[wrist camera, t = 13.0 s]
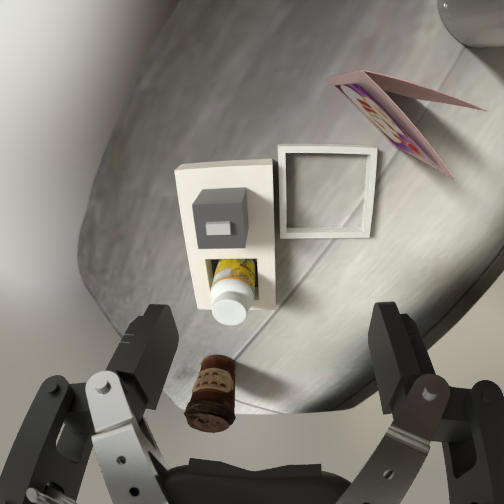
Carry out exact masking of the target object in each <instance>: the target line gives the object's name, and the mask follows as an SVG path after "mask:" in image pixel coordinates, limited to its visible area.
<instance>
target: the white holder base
mask: <svg viewBox="0 0 504 504" xmlns="http://www.w3.org/2000/svg"><path fill="white" fill-rule="evenodd" d="M175 178H176V185H177V192H178V199H179V206H180V212H181V218H182V225H183V231H184V237H185V243H186V249H187V254H188V260H189V265H190V271H191V276H192V281H193V287H194V292H195V297H196V302H197V307H198V309H212V308H213V305H212V303H211V300H210V291H211V287H212V283H213V279H214V278H213V271H212V264H211V259H251V258H257V266H258V286H259V287H255V289H254V301H253V304H252V306H251V308H250V309H249V310H276V291H275V234H274V196H273V165H272V159H256V160H233V161H216V162H202V163H189V164H181V165H180V166H179V167H178V168H177V169H175Z"/></svg>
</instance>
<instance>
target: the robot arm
mask: <svg viewBox="0 0 504 504" xmlns="http://www.w3.org/2000/svg"><path fill="white" fill-rule="evenodd" d="M438 9H439V14H440V16H441V19H442V21H443V23H444V24H445V26H446V28H447V29H448V30H449V32H450V33H451V34H452V35H453V36H454V37H455V38H456V39H457V40H458V41H460V42H461V43H463V44H465V45H466V46H469V47H474V48H481V47H502V46H504V0H438ZM419 333H420V332H419V330H418V328H417V325H416V323H415V322H414V321H413V320H412V319H411V318H410V317H409V316H408V315H407V314H400V313H399V311H398V308H397V306H396V303H395V302H378V303H375V305H374V308H373V313H372V318H371V323H370V327H369V332H368V344H369V349H370V354H371V358H372V362H373V367H374V371H375V376H376V380H377V385H378V390H379V395H380V400H381V405H382V410H383V414H391V413H392V415H393V419H394V420H393V422H392V424H391V426H390V427H389V429H388V430H387V432H386V434H385V435H384V437H383V438H382V440H381V442H380V443H379V445H378V446H377V448H376V450H375V451H374V453H373V454H372V455H371V457H370V458H369V460H368V461H367V463H366V464H365V466H364V467H363V469H362V470H361V471H360V473H359V474H358V475H357V477H356V478H355V479H354V481H353V482H352V483H351V482H349V481H348V480H346V479H344V478H343V477H340V476H338V475H336V474H333V473H329V472H325V471H321V464H310V465H286V466H281V467H276V468H272V469H266V470H261V471H249V470H245V469H242V468H239V467H235V466H232V465H229V464H226V463H223V462H219V461H210V460H202V459H194V458H190V460H189V465H184V466H179V467H175V468H170V466H169V465H168V463H167V462H166V460H165V459H164V457H163V456H162V454H161V452H160V450H159V448H158V446H157V444H156V442H155V440H154V438H153V435H152V433H151V431H150V429H149V426H148V424H147V422H146V420H145V417H144V416H143V414H144V411H145V409H146V408H147V409H152V410H156V407H157V404H158V401H159V398H160V395H161V392H162V389H163V387H164V384H165V381H166V378H167V375H168V372H169V369H170V367H171V364H172V361H173V358H174V355H175V353H176V350H177V347H178V342H179V335H178V331H177V327H176V324H175V321H174V318H173V315H172V312H171V309H170V307H169V305H159V304H150V305H149V306H148V308H147V310H146V311H145V313H144V315H143V316H138V317H137V318H136V319H135V320H134V321H133V322H132V323H130V325H129V327H128V328H127V330H126V332H125V335H124V336H123V338H122V340H121V343H119V345H118V347H117V349H116V351H115V353H114V355H113V357H112V359H111V361H110V363H109V364H108V367H107V368H106V370H105V371H101V372H98V373H96V374H94V375H93V376H92V377H90V379H89V380H88V381H87V383H78V384H69V383H68V381H67V380H66V379H65V378H64V377H63V376H60V375H55V376H52V377H49V378H48V379H46V380H45V381H44V382H43V383H42V385H41V387H40V389H39V391H38V393H37V394H36V396H35V399H34V400H33V403H32V404H31V407H30V409H29V411H28V413H27V415H26V417H25V419H24V421H23V423H22V426H21V428H20V430H19V432H18V434H17V437H16V439H15V441H14V444H13V446H12V448H11V451H10V453H9V456H8V458H7V461H6V463H5V466H4V469H3V471H2V474H1V476H0V504H77V503H76V500H77V496H78V493H79V489H80V486H81V482H82V479H83V476H84V472H85V469H86V465H87V463H88V460H89V456H90V453H91V450H92V447H93V446H94V450H95V453H96V456H97V459H98V463H99V466H100V469H101V472H102V474H103V477H104V480H105V483H106V486H107V489H108V491H109V494H110V496H111V499H112V502H113V504H400V503H401V501H402V499H403V498H404V496H405V495H406V493H407V491H408V490H409V488H410V486H411V485H412V483H413V481H414V479H415V478H416V476H417V474H418V472H419V470H420V468H421V467H422V465H423V463H424V461H425V459H426V457H427V455H428V453H429V450H430V446H429V444H430V442H431V441H437V442H442V446H443V452H444V458H445V465H446V472H447V480H448V489H449V500H450V504H504V396H503V393H502V391H501V389H500V388H499V387H498V385H496V384H495V383H494V382H492V381H489V380H482V381H479V382H477V383H476V384H475V385H474V386H473V388H472V389H464V388H455V387H451V386H449V385H448V383H447V382H446V380H445V379H443V378H442V377H440V376H438V375H436V374H435V371H434V369H433V366H432V363H431V360H430V358H429V355H428V352H427V350H426V347H425V345H424V343H423V340H422V337H421V335H420V334H419ZM63 423H64V424H65V426H64V428H63V431H62V434H61V436H60V439H59V441H58V444H57V446H56V439H57V437H58V434H59V432H60V429H61V427H62V425H63Z"/></svg>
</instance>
